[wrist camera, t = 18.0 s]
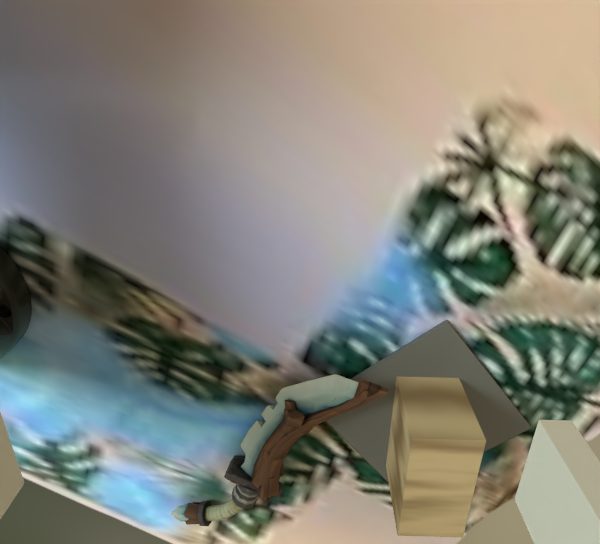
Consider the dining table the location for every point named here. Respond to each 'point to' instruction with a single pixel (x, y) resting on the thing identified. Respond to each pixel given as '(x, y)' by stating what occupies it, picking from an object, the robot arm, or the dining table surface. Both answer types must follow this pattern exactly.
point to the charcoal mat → (428, 363)
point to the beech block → (432, 456)
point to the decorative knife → (280, 441)
